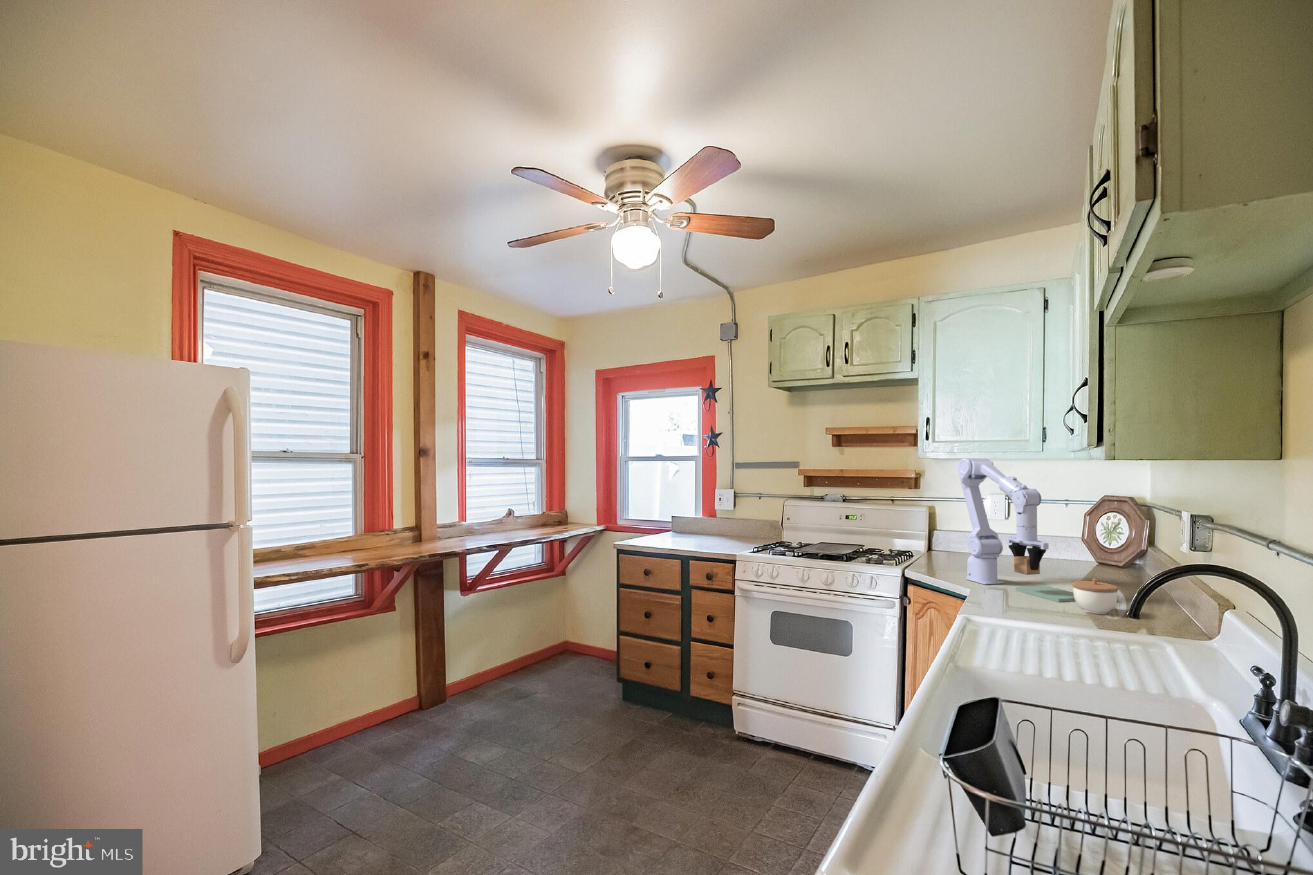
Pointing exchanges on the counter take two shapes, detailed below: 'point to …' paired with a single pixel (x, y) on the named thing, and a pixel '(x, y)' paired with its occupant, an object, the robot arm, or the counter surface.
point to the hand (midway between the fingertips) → (1027, 568)
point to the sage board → (1048, 593)
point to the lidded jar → (1095, 596)
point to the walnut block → (1024, 566)
